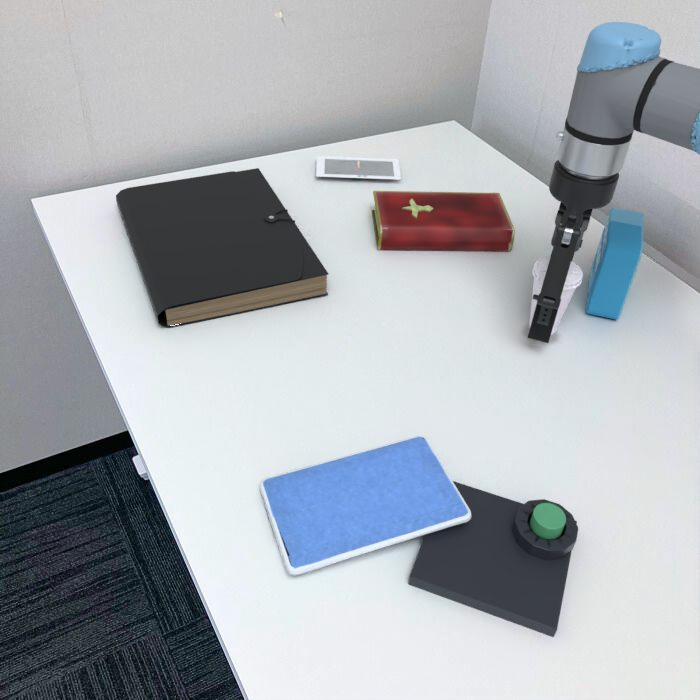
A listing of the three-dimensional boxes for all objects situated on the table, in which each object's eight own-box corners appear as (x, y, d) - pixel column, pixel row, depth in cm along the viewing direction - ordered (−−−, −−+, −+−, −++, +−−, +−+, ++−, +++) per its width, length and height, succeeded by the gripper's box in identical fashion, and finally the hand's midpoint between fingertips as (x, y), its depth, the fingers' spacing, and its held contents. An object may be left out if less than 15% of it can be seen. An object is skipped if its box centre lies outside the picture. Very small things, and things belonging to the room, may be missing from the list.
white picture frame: (316, 161, 138) (316, 150, 136) (397, 164, 138) (398, 153, 137) (315, 182, 132) (316, 170, 130) (400, 185, 132) (401, 173, 131)
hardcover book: (510, 253, 117) (516, 229, 115) (377, 251, 116) (379, 228, 113) (495, 213, 126) (499, 191, 124) (371, 211, 125) (373, 189, 122)
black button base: (574, 528, 78) (581, 511, 76) (554, 638, 68) (561, 621, 66) (444, 486, 81) (448, 468, 79) (407, 584, 72) (411, 567, 70)
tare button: (564, 519, 75) (568, 508, 74) (559, 544, 73) (563, 533, 72) (532, 509, 76) (536, 498, 75) (526, 533, 74) (530, 522, 73)
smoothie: (536, 307, 107) (559, 222, 98) (574, 329, 103) (602, 243, 94) (509, 326, 103) (531, 239, 94) (548, 349, 100) (574, 261, 91)
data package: (589, 272, 114) (611, 202, 107) (620, 278, 113) (644, 208, 106) (584, 317, 106) (607, 245, 98) (617, 324, 105) (643, 252, 97)
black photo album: (330, 271, 104) (155, 307, 96) (329, 295, 106) (159, 332, 99) (259, 165, 127) (113, 188, 119) (260, 187, 129) (118, 210, 122)
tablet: (289, 581, 71) (288, 573, 70) (257, 485, 80) (256, 477, 79) (474, 524, 75) (475, 515, 75) (424, 440, 85) (424, 431, 84)
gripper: (570, 120, 97) (535, 259, 111) (537, 205, 80) (500, 357, 94) (629, 132, 95) (586, 272, 109) (608, 221, 78) (560, 374, 92)
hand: (546, 311), depth 102 cm, fingers open, 12 cm apart
